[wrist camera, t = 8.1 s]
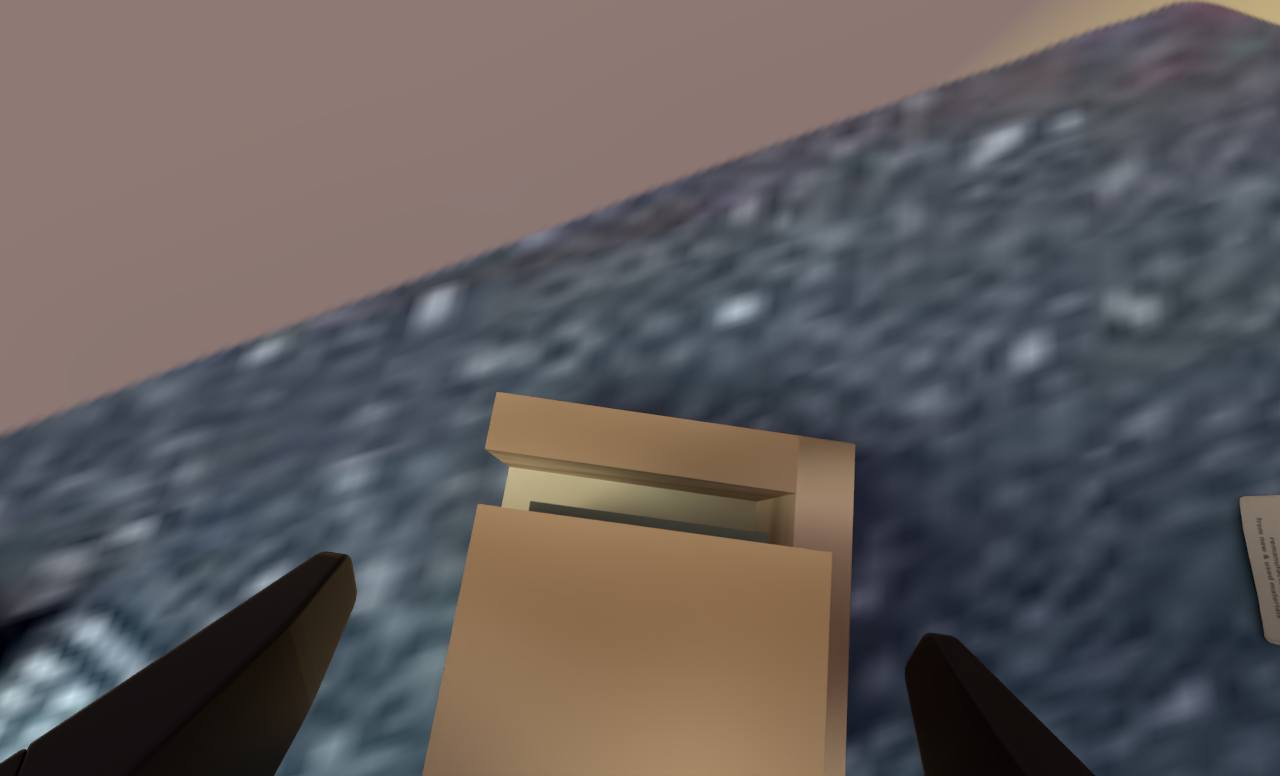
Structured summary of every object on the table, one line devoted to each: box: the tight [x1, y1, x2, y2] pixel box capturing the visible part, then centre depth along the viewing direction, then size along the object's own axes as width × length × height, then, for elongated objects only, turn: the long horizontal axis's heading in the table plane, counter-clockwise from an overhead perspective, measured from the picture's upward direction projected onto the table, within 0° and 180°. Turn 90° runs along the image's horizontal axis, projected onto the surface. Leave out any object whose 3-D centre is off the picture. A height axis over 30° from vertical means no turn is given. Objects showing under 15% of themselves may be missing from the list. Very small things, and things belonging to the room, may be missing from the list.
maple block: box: [422, 501, 832, 776], centre depth 12 cm, size 5×5×10 cm
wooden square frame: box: [485, 392, 855, 776], centre depth 15 cm, size 10×10×4 cm
